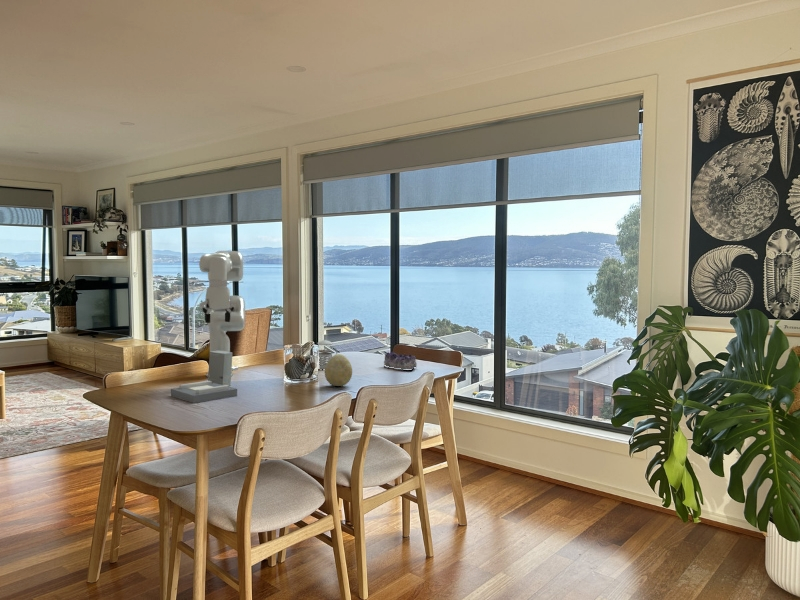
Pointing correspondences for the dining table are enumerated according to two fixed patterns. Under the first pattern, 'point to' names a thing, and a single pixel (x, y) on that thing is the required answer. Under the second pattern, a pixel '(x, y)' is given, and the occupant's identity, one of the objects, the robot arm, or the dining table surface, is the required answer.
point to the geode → (400, 361)
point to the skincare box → (220, 367)
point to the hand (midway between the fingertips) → (217, 322)
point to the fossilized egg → (338, 370)
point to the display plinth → (203, 396)
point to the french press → (325, 352)
